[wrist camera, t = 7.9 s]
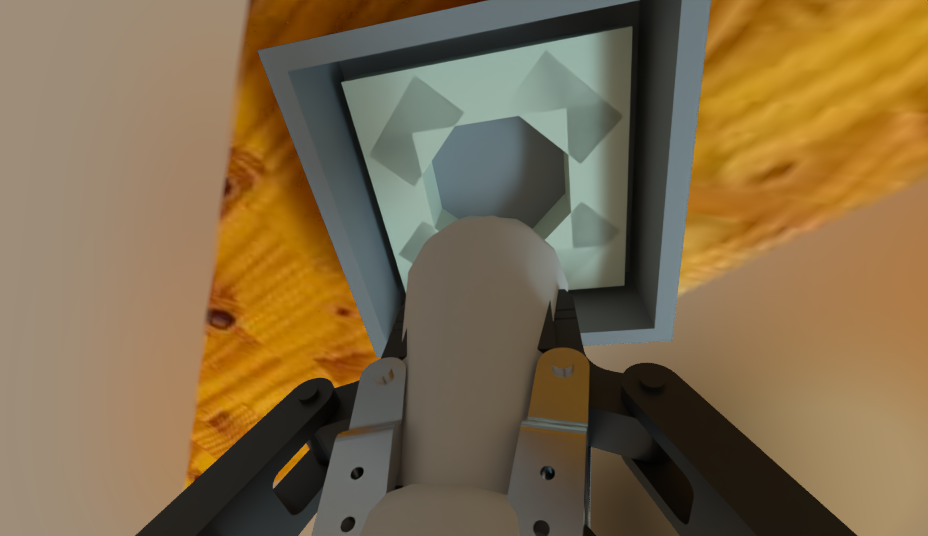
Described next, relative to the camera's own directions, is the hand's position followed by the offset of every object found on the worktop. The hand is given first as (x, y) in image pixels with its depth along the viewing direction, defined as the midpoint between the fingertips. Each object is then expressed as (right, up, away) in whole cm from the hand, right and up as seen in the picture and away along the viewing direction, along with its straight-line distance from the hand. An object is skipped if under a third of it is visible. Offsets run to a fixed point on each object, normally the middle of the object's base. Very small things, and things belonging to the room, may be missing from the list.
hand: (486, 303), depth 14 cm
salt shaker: (0, +2, +3) cm, 3 cm away
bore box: (+1, +7, +12) cm, 14 cm away
